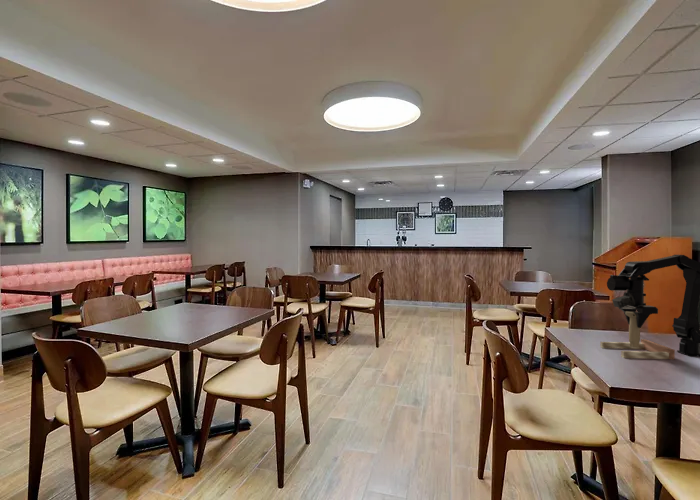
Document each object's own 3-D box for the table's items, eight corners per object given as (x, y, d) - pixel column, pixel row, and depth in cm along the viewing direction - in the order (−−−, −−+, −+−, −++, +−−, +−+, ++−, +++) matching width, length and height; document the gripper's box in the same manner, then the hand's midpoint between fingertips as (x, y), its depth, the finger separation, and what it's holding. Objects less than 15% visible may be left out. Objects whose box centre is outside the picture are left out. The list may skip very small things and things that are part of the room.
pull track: (645, 348, 166) (645, 339, 166) (674, 359, 150) (674, 349, 150) (600, 346, 168) (600, 338, 168) (624, 358, 152) (624, 348, 152)
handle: (642, 349, 155) (643, 314, 155) (624, 346, 160) (624, 312, 159) (644, 347, 158) (644, 312, 158) (626, 344, 163) (626, 310, 163)
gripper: (602, 287, 168) (601, 321, 169) (631, 293, 150) (630, 331, 150) (627, 287, 168) (626, 321, 168) (659, 293, 149) (658, 331, 149)
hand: (634, 326), depth 159 cm, fingers closed on handle, 5 cm apart
